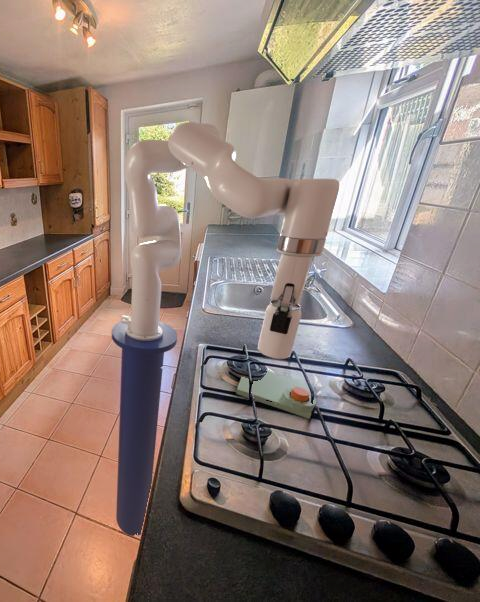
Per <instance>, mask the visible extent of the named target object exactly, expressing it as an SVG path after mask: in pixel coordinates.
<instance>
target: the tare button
mask: <svg viewBox="0 0 480 602" xmlns="http://www.w3.org/2000/svg"><path fill="white" fill-rule="evenodd" d="M291 397H292V398H293V399H295V400H297V401H300V402H307V400H308V397H309V392H308V391H307V390H305V389H303V388H301V387H294V388H293V389H292V392H291Z"/></svg>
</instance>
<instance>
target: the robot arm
mask: <svg viewBox="0 0 480 602" xmlns="http://www.w3.org/2000/svg"><path fill="white" fill-rule="evenodd" d="M236 157H237V149H236V147H235V146H234V145H232V144H231V143H229V142H228V141H226V140H224V139H223V135H222V133H221V130H220V129H219V128H218V127H217V126H215V125H214V124H211V123H210V124H209V123H202V122H194V121H193V122H192V121H187V122H186V121H185V122H183V123H180V124H178V125H176V126H175V128H174V129H172V131H170V134H169V136H168V140H164V139H142V140H139V141H137V142H135V143H133V145H131V147H130V148H129V149H128V150H127V153H126V155H125V158H124V161H123V176H124V181H125V185H126V188H127V193H128V204H129V212H130V213H129V214H130V222H131V229H132V233H133V234H134V236H135V237H137V238H139V239H148V238H153V237H154V238H155V239H156V240H153V241H147V242H143V243H140V244H137V245H136V246H134V247H133V249H132V250H131V252H130V254H129V255H130V256H129V262H130V269H131V279H132V280H131V303H130V304H131V305H130V306H131V307H130V316H127V315H124V314H122V315H121V317H120V318H121V319H120V322H121V323H124V324H127V325H128V326H127V327H126V333H127V335H128V336H130V337H131V338H133V339H136V340H141V341H152V340H156V339H159V338H160V337H161V336H162V333H163V331H162V329H161V328H160V327H159V326H158V325H159V321H160V312H161V301H162V280H161V278H160V276H159V271H162V270H166V269H170V268H172V267H173V268H174V267H175V266H177V265H178V264H179V262H180V260H181V258H182V236H181V222H180V217H179V214H178V211H177V210H176V209H175V208H174V207H173V206H171V205H168V204H159V201H158V199H159V198H158V190H157V186H156V184H155V181H154V180H153V178H152V177H151V174H171V173H176V172H179V171H182V170H185V169H188V168H189V169H191V170H192V171H193V172H195V173H196V174H197V175H199V176H200V177H201V178H202V179H204V180H205V181H206V185H207V187H208V188H209V192H210V193H211V194H212V195H213V197H214V198H215V199H216V200H217V201H219V202H220V203H221V204H222V205H224V206H225V207H226V208H228V209H229V210H231V212H233V213H235V214H236V215H238V216H241V217H243V218H246V219H259V218H267V217H274V216H283V220H282V225H281V229H280V234H279V239H278V243H277V248H276V252H278V253H279V254H280V257H279V261H278V265H277V269H276V272H275V277H274V281H273V286H272V290H271V294H270V301H273V300H278V303H277V307H276V311H275V313H274V314H273V318H272V322H271V326H270V331H273V332H277V333H282V334H287V333H288V329H289V325H290V322H291V318H292V316H291V312H292V308H293V305H294V304H299V302H300V299H301V297H302V294H303V292H304V288H305V286H306V283H307V280H308V276H309V274H310V270H311V266H312V263H313V258H314V257H316V258H317V257H320V256H322V255H323V251H324V247H325V244H326V241H327V237H328V235H329V234H328V233H329V230H330V226H331V223H332V220H333V217H334V212H335V209H336V205H337V202H338V199H339V195H340V191H341V182H340V181H339V180H338V179H336V178H302V179H294V178H293V179H292V178H285V177H263V178H261V177H258V176H256V175H254V174H253V173H251V172H250V171H248V170H246V169H245V168H243V167H242V166H240V165H239V164H238V163H237V162H236ZM290 301H291V302H290ZM280 303H281V306H280ZM289 305H290V308H289ZM278 311H279V312H278ZM287 315H288V316H287Z"/></svg>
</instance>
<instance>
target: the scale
mask: <svg viewBox="0 0 480 602" xmlns="http://www.w3.org/2000/svg"><path fill="white" fill-rule="evenodd" d="M266 371H267V373H266V375H265V376H264V377H263V378H262V379H261V380H258V381H253V384H252V394H253V395H254V399H255V400H254V401H255V402H259V403H262V404H264V405H267V406H271V407H273V408H275V409H276V408H277V409H279V410H281V411H285V412H288V413H291V414H294V415H297V416H299V417H303V418H305V419H308V420H310V419H311V416H312V412H313V411H314V410H313V408H314V407H315V408H316V406H317V399H316V397H314V400H313V404H312V403H311V394H310V390H309V388H308V385H307V383H306V382H307V381H304V380H301V379H297V378H293V377H290V376H287V375H283V374H279V373H276V372H272V371H269V370H266ZM311 385H312V386H313V383H311ZM294 387H301V388H303V389H305V390H307V391H308V392H309V397H308V400H307V402H300V401H297V400H295V399H293V398H292V397H291V392H292V389H293V388H294ZM235 394H236V395H238V396H241V397H245V398H247V399H250V398H249V379H248V378H245V377H242V376H241V378H240V380H239V382H238V385H237V389H236V392H235ZM266 400H269V401H272V402H273V403H272V402H269V401H266ZM275 403H276V404H275ZM312 410H313V411H312Z"/></svg>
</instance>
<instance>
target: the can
mask: <svg viewBox="0 0 480 602" xmlns="http://www.w3.org/2000/svg"><path fill="white" fill-rule="evenodd" d="M290 302H291V301H290ZM277 303H278V299H277V300H273V301H272V300H270V301H269V304H268V305H267V306H266V309H265V312H264V317H263V322H262V324H261V325H262V326H261V329H260V334H259V339H258V342H257V343H258V344H257V350H258V351H259V353H260V354H262V355H263V356H264V357H267V358H270V359H274V360H286V359H288V358H290V356H291V354H292V350H293V348H294V344H295V340H296V337H297V333H298V330H299V325H300V321H301V318H302V311H301V308H302V306H301V305H300V304H299V303H297V304H294V305H293V308H292V312H291V316H292V318H291V322H290V325H289V329H288V333H287V334H282V333H277V332H273V331H270V326H271V322H272V318H273V314H274V313H275V311H276V307H277ZM280 306H281V303H280ZM289 308H290V305H289ZM278 312H279V311H278ZM287 316H288V315H287Z"/></svg>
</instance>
